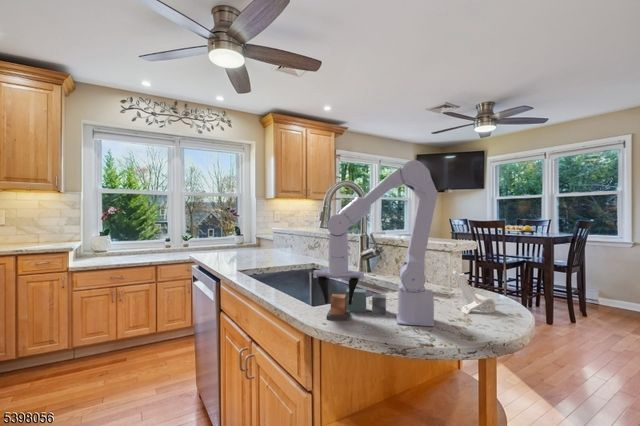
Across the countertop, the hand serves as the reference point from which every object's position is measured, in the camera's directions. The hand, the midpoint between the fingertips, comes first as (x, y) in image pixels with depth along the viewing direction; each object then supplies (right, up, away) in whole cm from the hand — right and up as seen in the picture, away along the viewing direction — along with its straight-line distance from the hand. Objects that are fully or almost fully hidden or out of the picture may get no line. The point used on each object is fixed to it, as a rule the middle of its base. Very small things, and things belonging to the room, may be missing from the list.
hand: (338, 303), depth 93 cm
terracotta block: (0, -3, 0) cm, 3 cm away
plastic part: (+42, -4, +7) cm, 43 cm away
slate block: (+13, -4, +4) cm, 14 cm away
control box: (+6, -4, +6) cm, 10 cm away
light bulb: (+32, -4, +30) cm, 44 cm away
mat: (0, -4, 0) cm, 4 cm away
